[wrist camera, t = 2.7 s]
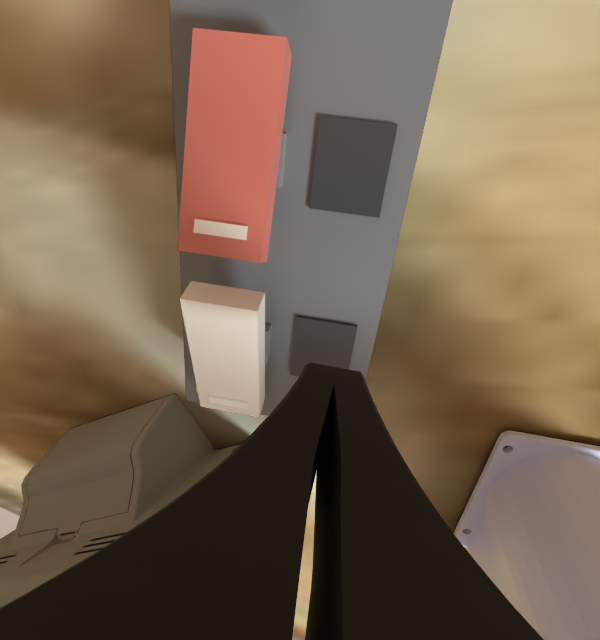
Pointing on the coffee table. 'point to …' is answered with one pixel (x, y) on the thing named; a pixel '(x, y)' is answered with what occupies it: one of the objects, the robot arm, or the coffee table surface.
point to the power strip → (324, 169)
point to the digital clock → (102, 488)
